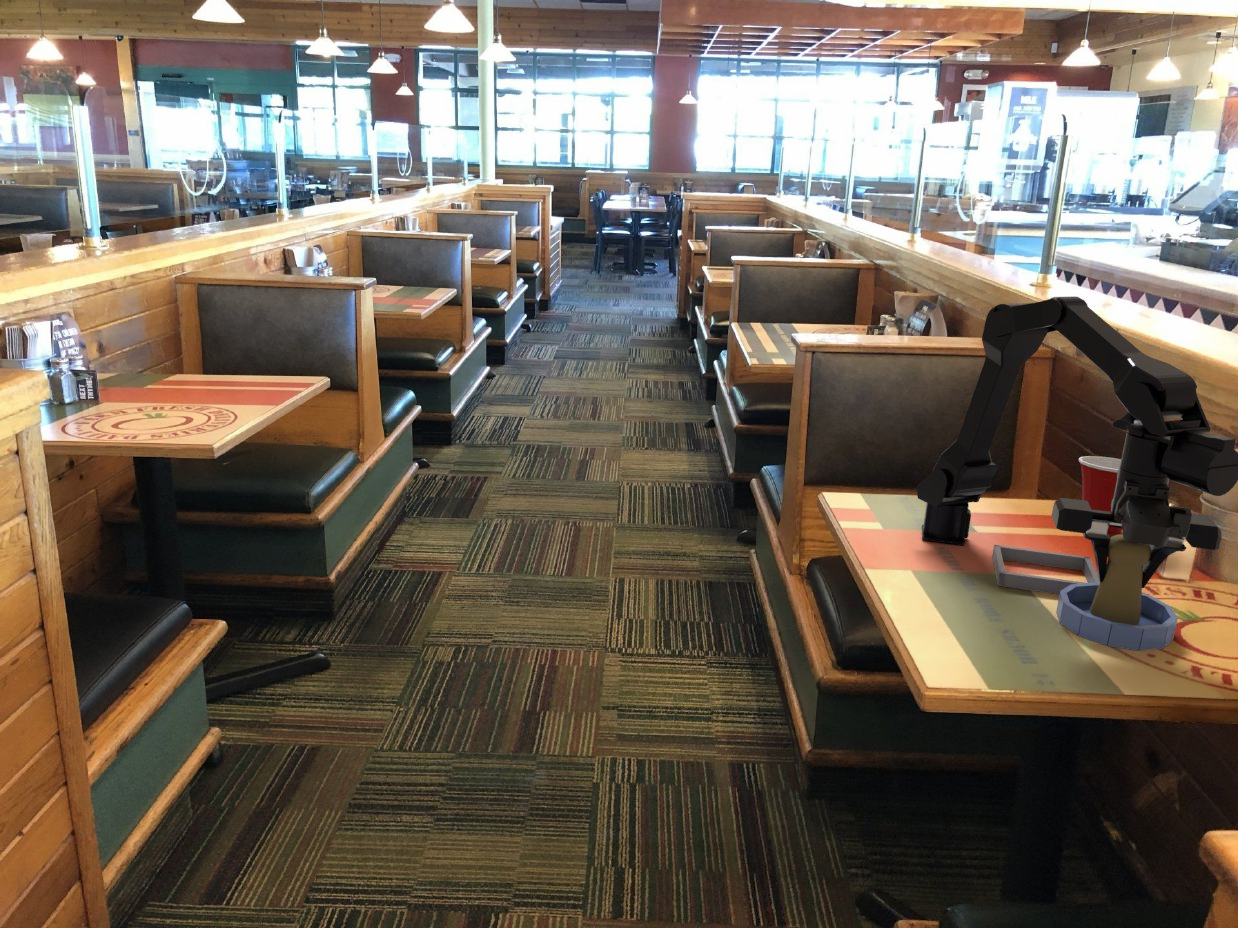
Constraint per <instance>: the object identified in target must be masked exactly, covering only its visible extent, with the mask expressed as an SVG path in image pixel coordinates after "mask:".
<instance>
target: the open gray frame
mask: <svg viewBox="0 0 1238 928" xmlns="http://www.w3.org/2000/svg"><path fill="white" fill-rule="evenodd" d="M991 557H992V563H993V568H994V571H995V578H996V582H997V583H996V584H997V586H998V587H1005V588H1011V589H1017V590H1026V591H1031V592H1032V591H1034V592H1041V593H1047V594H1054V595H1059V594H1060V591H1061V590H1063V589H1064V588H1066V587H1068V586H1069V585H1071V584H1082V583H1100V581H1099V577H1098V571H1097V569H1096V567H1095V566H1094V563H1093V561H1092V559H1091V557H1090V556H1085V555H1077V554H1069V553H1062V552H1053V551H1047V550H1046V551H1045V550H1040V549H1030V548H1022V547H1015V546H1009V545H1008V546H1007V545H1000V544H994V545H993V548H992V556H991ZM1004 561H1009V562H1016V563H1023V564H1031V565H1037V566H1047V567H1054V568H1061V569H1068V570H1069V569H1070V570H1075V571H1076V570H1077V571H1082V574H1083V575H1084V578H1085V580H1086V582H1085V581H1084V582H1083V581H1077V580H1071V579H1070V580H1069V579H1061V578H1056V577H1055V578H1054V577H1047V576H1040V575H1034V574H1033V575H1031V574H1025V573H1017V572H1011V571H1006V567H1005V564H1004Z"/></svg>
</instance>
